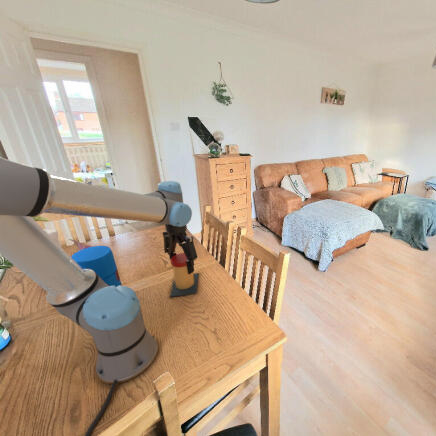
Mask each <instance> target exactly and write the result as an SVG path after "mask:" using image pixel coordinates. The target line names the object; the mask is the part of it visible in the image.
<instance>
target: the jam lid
mask: <svg viewBox="0 0 436 436" xmlns="http://www.w3.org/2000/svg"><path fill="white" fill-rule="evenodd" d="M187 260H188V259H187V257H186V255H185V253H184V252H180V253H176V255H174V256H173V257H172V258H171V261H170V264H171V267H172V266H174V267H184V266H187V263H186V261H187Z"/></svg>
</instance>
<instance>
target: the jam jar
mask: <svg viewBox="0 0 436 436" xmlns="http://www.w3.org/2000/svg"><path fill="white" fill-rule="evenodd" d="M172 268H173V269H172ZM171 269H172V273H173V279H175V284H176V287H177V288H178V289H187V288H189V287H191V286H193V284H194V282H195V281H194V274H195V273H194V272H192V273H191V274H188V269H187V266H184V267H174V266H172V265H171Z"/></svg>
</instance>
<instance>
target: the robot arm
mask: <svg viewBox="0 0 436 436" xmlns="http://www.w3.org/2000/svg"><path fill="white" fill-rule="evenodd" d="M42 214H53V215H54V214H55V215H67V216H68V215H69V216H77V217H89V218H101V219H111V220H122V221H133V222H135V221H136V222H147V223H157V224H164V228H165V231H162V232H161V233H162V237H163V251H164V254H166V253H167V255H168V257H169V261H170V262H171V258H172V257H173V256H174V255H176V254H177V252H176V248H177V244H178V246H179V247H181V249H182V251H183V253H185V255H186V257H187V259H188V260H187V261H186V263H187V269H188V274H191V273H192V272H193V273H194V272H195V260H197V259H198V258H199V257H198V253H197V250H196V246H195V243H194V242H195V241H194V236H193V235H191V236H189V235H188V234H187V229H188V226H187V225H188V224H189V223H190V221H191V219H192V216H193V211H192V208H191V206H189V205H188V204H187V203H184V197H183V191H182V186H181V183H179V182H178V181H175V180H165V181H161V182H159V183H158V184H157V190H154V191H150V192H146V193H137V192H133V191H127V190H122V189H118V188H113V187H109V186H108V187H107V186H103V185H99V184H93V183H88V182H83V181H78V180H72V179H68V178H63V177H59V176H58V177H57V176H54V175H51V174H50V173H49V172H48V171H47V170H46V169H44V168H40V167H34V166H31V165H27V164H23V163H20V162H17V161H13V160H10V159H7V158H4V157H1V156H0V256H1V257H3V258H4V259H5V260H7V262H9V263H10V264H11V265H13V266H14V267H16V269H18V270H19V271H20V272H22V274H24V275H25V276H26V277H28V278H29V279H30V280H31V281H33V282H34V283H35V284H36V285H38V286H39V287H40V288H42V289H43V290H44V291H45V292H47V293H46V295H45V300H46V302H47V303H48V304H49V305H50V306H52V308H54V309H56V311H57V312H58V313H59V314H61V315H62V316H64V317H66V318H68V320H70V321H72V322H73V323H75V324H76V325H77V326H79V327H80V328H82V330H84V331H86V332H87V333H89V335H90V336H91V338H92V339H93V342H94V345H95V348H96V349H97V350H96V351H97V357H96V364H95V372H96V376H97V378H98V379H99V381H100V382H101V383H104V384H106V385H111V386H110V389H109V391H108V394H107V396H106V399H105V401H104V403H103V405H102V407H101V409H100V410H99V412H98V413H97V415H96V416H95V418H94V420H93V421H92V422H91V424H90V426H89V427H88V429H87V431H86V432H85V433H84V436H91V433H92V432H93V431H94V429H95V427H96V426H97V424H98V422H99V421H100V419H102V416H103V415H104V414H105V411H106V409H107V407H108V406H109V404H110V402H111V400H112V397H113V394H114V392H115V389H116V387H117V385H119V384H124V383H126V382H129V381H131V380H134V379H136V378H138V377H139V376H140V375H141V374H142V373H144V372H146V370H147V369H148V368H149V367H151V365H152V364H153V362H154V361H155V360H156V357H157V355H158V352H159V347H158V343H157V340H156V338H155V335H154V334H153V335H152V334H151V333H150V332H149V331H148V329H146V325H145V324H146V323H145V321H144V315H143V312H142V309H141V302H140V299H139V297H138V296H137V293H136V292H135V290H134V289H133V288H132V287H129V286H126V285H122V286H121V285H119V286H117V287H116V286H109V285H107V284H106V283H105V282H104V281H103V280H102V279H101V278H100V277H99V276H98V275H97V274H96V273H95V272H94V271H93V270H91V269H82V268H81V267H80V266H79V265H78V264H77V263H76V262H75V261H74V260H73V259H72V258H71V257H72V256H71V255H69V253H68V252H66V250H64V249H63V248H61V247H62V246H61V247H60V246H59V245H58V244H57V243H56V242H55V241H54V240H53V239H52V237H51V236H50V235H49V234H48V233H47V232H46V231H45V230H44V229H45V228H43V227H42V226H41V225H40V224H39V223H38V222H37V221H36V220H35V219H34V218H36V217H39V216H41V215H42ZM171 269H172V270H173V268H172V267H171Z"/></svg>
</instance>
